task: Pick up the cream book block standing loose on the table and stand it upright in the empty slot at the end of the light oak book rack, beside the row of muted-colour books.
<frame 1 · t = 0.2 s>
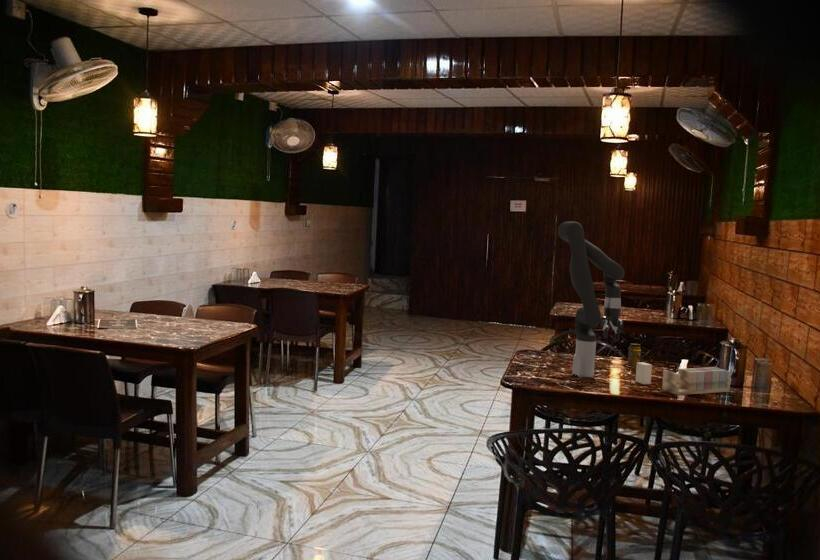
hand: (611, 339, 316), 17 cm above the table, tool pointing down, fingers open, 8 cm apart
cream book: (642, 382, 304), on the table
condiment: (631, 366, 341), on the table
book rack: (695, 390, 292), on the table
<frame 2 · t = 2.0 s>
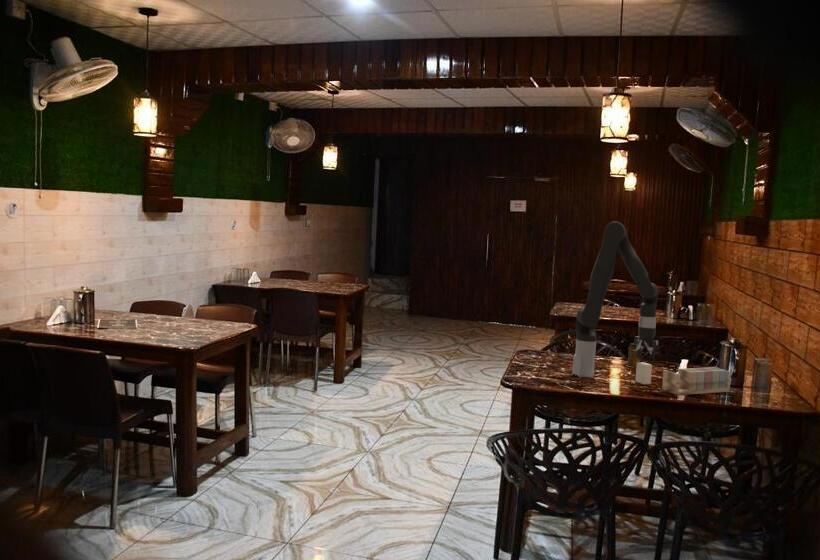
hand: (645, 360, 303), 10 cm above the table, tool pointing down, fingers open, 8 cm apart
nothing on the table moved.
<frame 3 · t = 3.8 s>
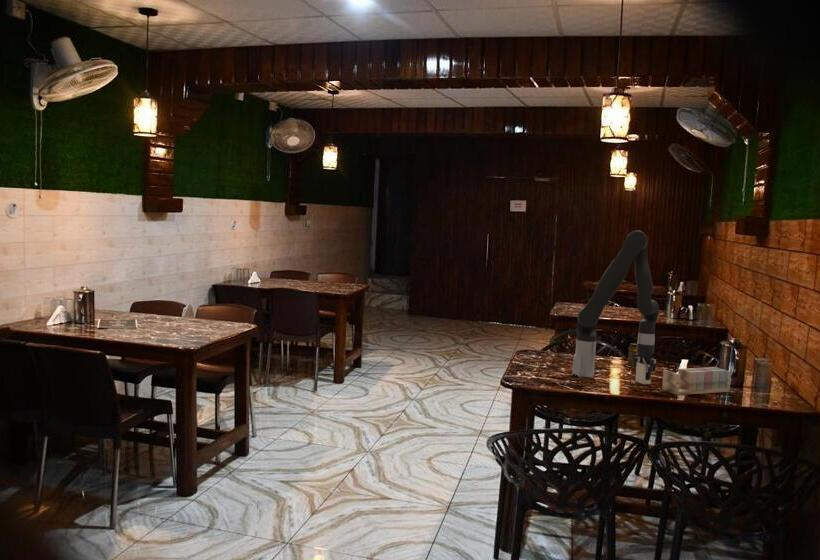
hand: (643, 378, 304), 2 cm above the table, tool pointing down, fingers closed on cream book, 5 cm apart
cream book: (642, 382, 304), on the table, touching gripper
everything else where it was.
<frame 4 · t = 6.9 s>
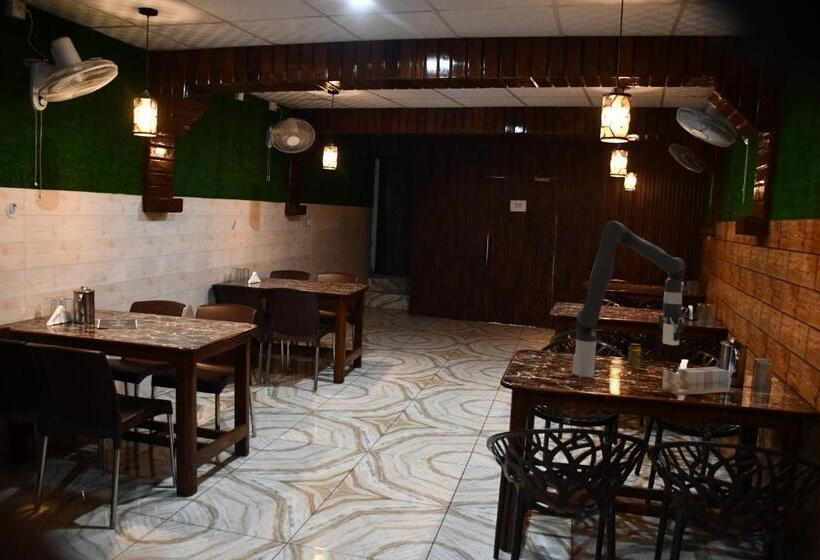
hand: (670, 339, 292), 22 cm above the table, tool pointing down, fingers closed on cream book, 5 cm apart
cream book: (670, 344, 292), point 20 cm above the table, touching gripper
everything else where it was.
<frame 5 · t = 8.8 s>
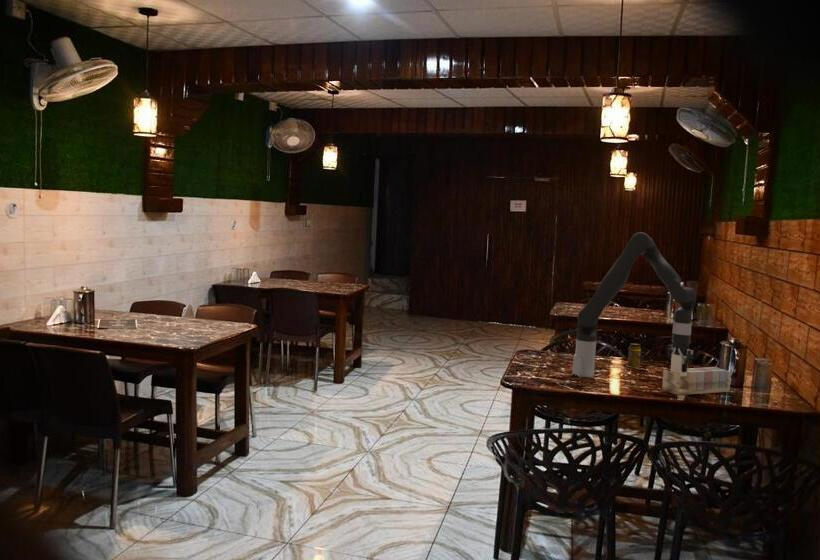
hand: (678, 370, 287), 10 cm above the table, tool pointing down, fingers closed on cream book, 5 cm apart
cream book: (678, 374, 288), point 8 cm above the table, touching gripper
everything else where it was.
when the fingers open (4 cm above the table, at t = 10.5 s): cream book stays where it is, resting on book rack.
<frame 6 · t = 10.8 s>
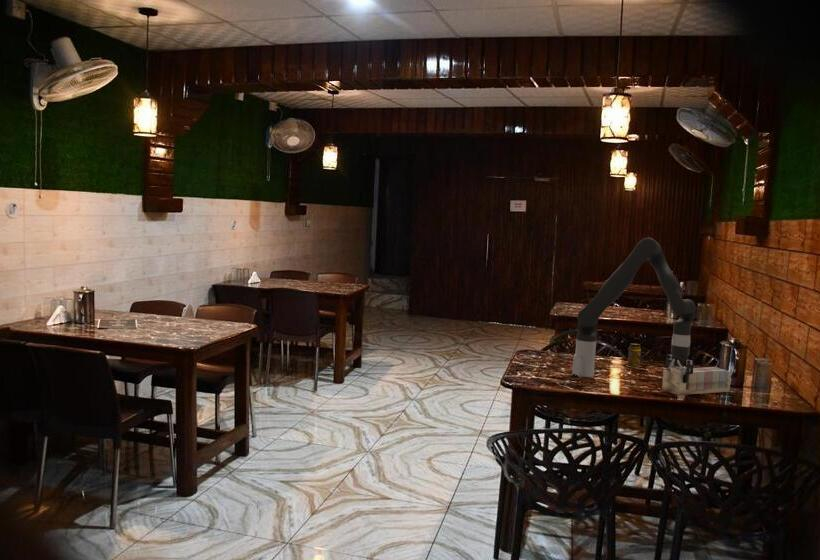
hand: (677, 380, 288), 5 cm above the table, tool pointing down, fingers open, 8 cm apart
cream book: (677, 388, 288), point 1 cm above the table, touching book rack
everything else where it was.
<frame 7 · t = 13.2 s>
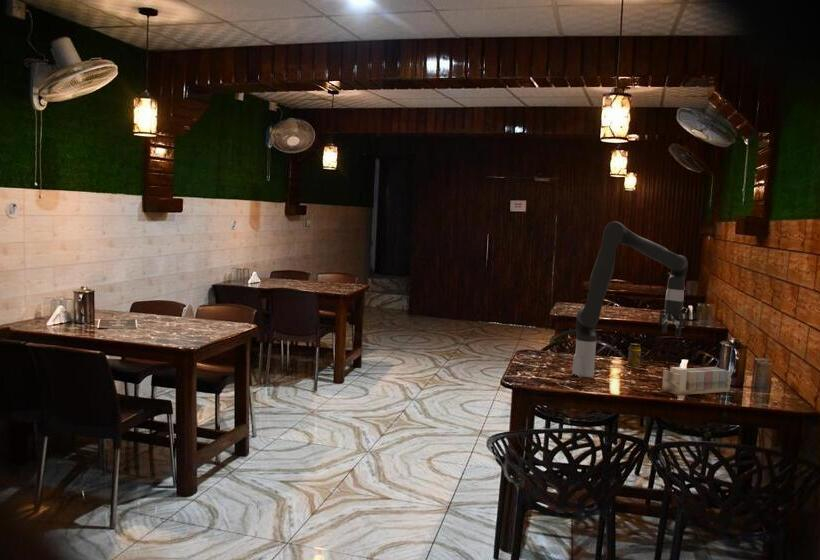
hand: (670, 334, 294), 24 cm above the table, tool pointing down, fingers open, 8 cm apart
nothing on the table moved.
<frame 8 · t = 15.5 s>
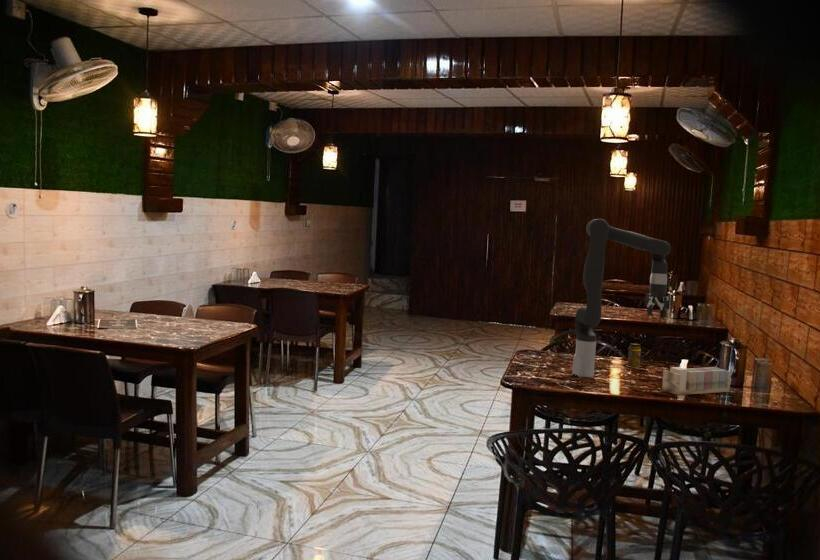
hand: (655, 316, 310), 30 cm above the table, tool pointing down, fingers open, 8 cm apart
nothing on the table moved.
at the end: cream book 0.1 cm from the target spot on the book rack, point 1.5 cm above the book rack's base; cream book tilted 0°; the gripper is holding nothing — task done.
